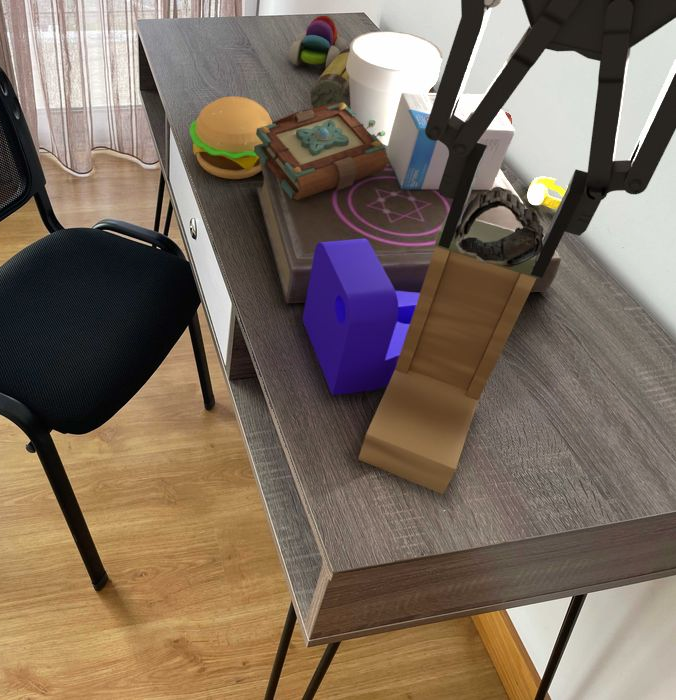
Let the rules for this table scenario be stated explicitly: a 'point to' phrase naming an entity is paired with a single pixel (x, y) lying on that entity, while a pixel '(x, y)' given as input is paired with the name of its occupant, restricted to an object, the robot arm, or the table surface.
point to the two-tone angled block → (446, 361)
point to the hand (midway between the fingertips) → (493, 249)
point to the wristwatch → (510, 247)
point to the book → (369, 227)
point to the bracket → (355, 316)
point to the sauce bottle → (333, 83)
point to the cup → (388, 75)
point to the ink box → (440, 143)
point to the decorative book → (320, 151)
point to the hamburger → (229, 137)
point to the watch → (544, 192)
